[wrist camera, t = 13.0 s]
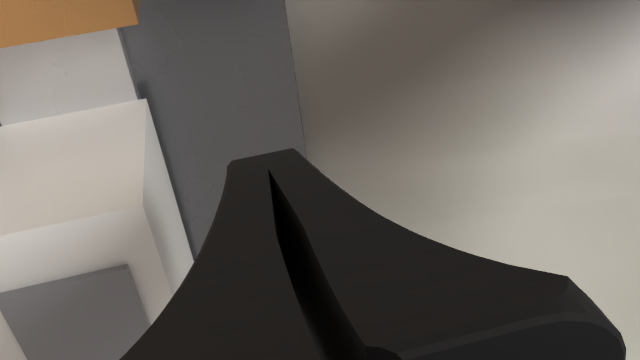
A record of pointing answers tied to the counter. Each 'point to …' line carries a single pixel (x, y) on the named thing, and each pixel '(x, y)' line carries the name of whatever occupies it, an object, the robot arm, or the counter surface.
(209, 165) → the rail plate
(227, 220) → the robot arm
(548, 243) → the counter surface
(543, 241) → the counter surface
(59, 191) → the block
